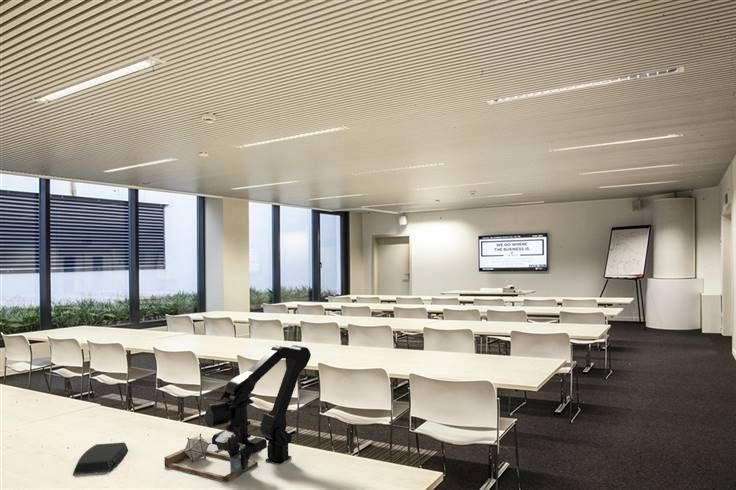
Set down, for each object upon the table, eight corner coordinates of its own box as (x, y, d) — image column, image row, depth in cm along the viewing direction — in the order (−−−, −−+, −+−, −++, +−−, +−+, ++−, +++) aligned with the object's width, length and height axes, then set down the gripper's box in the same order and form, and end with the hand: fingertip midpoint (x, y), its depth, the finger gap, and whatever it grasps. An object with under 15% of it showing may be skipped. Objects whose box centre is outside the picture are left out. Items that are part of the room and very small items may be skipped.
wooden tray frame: (257, 465, 177) (257, 448, 177) (227, 482, 164) (226, 464, 164) (197, 451, 190) (196, 436, 190) (164, 466, 178) (164, 449, 178)
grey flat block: (261, 450, 190) (260, 435, 190) (241, 460, 181) (241, 444, 181) (208, 439, 203) (207, 424, 203) (187, 448, 194) (187, 433, 194)
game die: (201, 470, 183) (211, 451, 179) (177, 465, 180) (185, 446, 176) (206, 449, 190) (215, 430, 186) (182, 444, 188) (191, 424, 184)
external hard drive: (69, 476, 173) (69, 463, 173) (92, 453, 192) (92, 442, 192) (112, 473, 175) (112, 460, 175) (130, 451, 194) (130, 439, 194)
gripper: (198, 422, 169) (199, 472, 169) (243, 431, 160) (244, 483, 160) (223, 412, 179) (224, 459, 179) (267, 420, 170) (268, 470, 170)
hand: (239, 468), depth 171 cm, fingers closed on wooden tray frame, 3 cm apart
